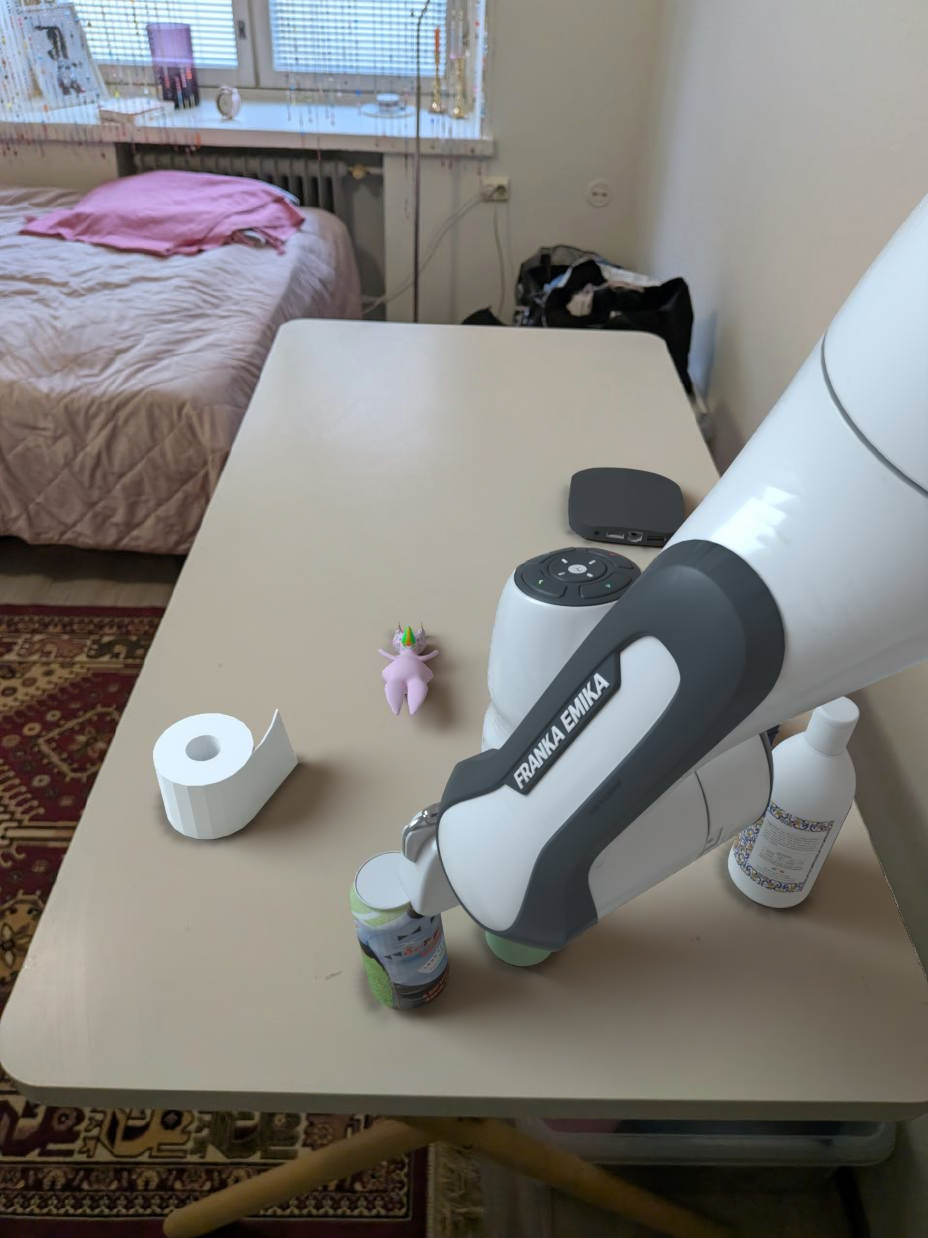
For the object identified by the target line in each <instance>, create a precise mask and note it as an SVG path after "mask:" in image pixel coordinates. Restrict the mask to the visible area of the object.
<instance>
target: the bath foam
mask: <svg viewBox="0 0 928 1238" xmlns="http://www.w3.org/2000/svg"><path fill="white" fill-rule="evenodd" d="M859 718H860V709H859V707H858V706H857V705H856V703H855V702H854V701H853V700H852V699H849V698H848V697H846V696H843V697H840V698H838V699H836V700H833V701H831V702H829V703H826V704H824V705H822V706H819V707H817V708H815V709H813V712H812V715H811V717H810V720H809V722H808V724H807V727H806V730H805V731H802V732H799V733H796V734H794V735H792V736H789V737H788V738H786V739H784V740H783V741H781V742H780V743H778V744H777V745H776V746H775V747H774V748H773V749H771V751H772V756H773V765H774V781H773V790H772V795H771V799H770V803H769V806H768V808H767V810H766V812H765V814H764V815H763V817H762V818H761V819H760V820H759V821H758V822H756V823H755V824H753V825H751V826H749V827H748V828H746V829H745V830H743V831H742V832H740V833H739V834H737V835H736V836H734V840H733V843H732V846H731V849H730V851H729V853H728V854H729V855H728V858H727V868H728V873H729V875H730V878H731V879H732V881H733V883H734V884H735V886H736V887H737V888H738V889H739V891H741V892H742V893H743V894H744V895H745V896H746V897H747V898H749V899H750V900H752V901H754V902H756V903H757V904H760V905H763V906H765V907H769V908H776V909H783V908H790V907H794V906H796V905H799V904H800V903H802V902H803V901H804V900H805V899H806V898H807V897H808V896H809V894H810V892H811V890H812V888H813V886H814V884H815V882H816V880H817V879H818V877H819V875H820V874H821V871H822V869H823V866H824V865H825V863H826V860H827V858H828V857H829V854H830V853H831V850H832V848H833V846H834V844H835V842H836V840H837V837H838V835H840V831H841V829H842V828H843V825H844V823H845V821H846V819H847V817H848V815H849V812H850V810H851V808H852V806H853V802H854V799H855V794H856V790H857V789H856V788H857V778H856V777H857V775H856V770H855V766H854V764H853V761H852V758H851V756H850V753H849V752H848V749H847V745H848V744H849V741H850V740H851V739H850V738H851V736H852V734H853V732H854V730H855V728H856V725H857V724H858V722H859Z"/></svg>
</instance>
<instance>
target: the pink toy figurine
mask: <svg viewBox="0 0 928 1238" xmlns="http://www.w3.org/2000/svg"><path fill="white" fill-rule="evenodd" d="M426 646H427V638H426V633H425V630H424V627H423V621H421V622H420V627H419V629H418V630H417V631H416V632H413V629H412V628H411V626H410V625H408V626H407V627H406V628H405V630H404V631H403V630H402V627H401V623H400V621H398V625H397V626H396V629H395V632H394V635H393V638H392V647H393V649H394V650H395V651H396V652H397V654H398V655H396V654H395V655H394V654H391V653H388V652H387V651H386V650H385V649H384V648H379V649H378V653H379V654H380V655H381V656H383V657H384V658H386V659H388V660H390V661H392V662H390V663H389V664H388V665H387V666H386V667H385V668H384V669H382V672H381V677H382V678H383V680H384V681H385V682H386V683H385V685H384V693H385V698H386V700H387V702H388V705H389V707H390V709H391V710H392V712H393V714H394V715H396V716H399V715H400V713H401V710H402V707H403V705H404V699H405V695H407V705H408V710H409V715H410V716H412V717H413V716H415V715H416V714H417V713H418V712H419V710H420V708H421V706H422V705H423V702H424V701H425V699H426V697H427V694H428V691H429V687H428V683H429V682H430V681H432V679H433V677H434V672H433V671H432V670H431V669H430V668H429V667H428V666H427V665H426V664H425V663H424V662H426V661H429V660H431V659H433V658H434V657H437V656H438V655H439V654H440V651H439V650H437V649H435V650H433V651H431V653H429V654H426V655H420V654H421V653H422V652H423V651H425V649H426Z"/></svg>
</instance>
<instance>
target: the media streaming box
mask: <svg viewBox="0 0 928 1238" xmlns="http://www.w3.org/2000/svg"><path fill="white" fill-rule="evenodd" d="M681 489H682V488H681V486H680V485H679V484H678V483H677V482H676V481H674V480H672V479H671V478H669V477H667V476H664V475H663V474H659V473H656V472H653V471H648V470H642V469H637V468H627V467H615V466H614V467H613V466H609V467H608V466H606V467H603V466H602V467H598V466H597V467H589V468H585V469H582V470H578V471H577V472H575V473H573V474H572V476H571V477H570V484H569V493H568V501H567V502H568V503H567V507H568V509H567V515H568V516H567V517H568V518H567V519H568V525H569V527H570V529H571V531H573V532H574V533H575V534H577V535H578V536H580V537H582V538H585V539H589V540H593V541H601V542H609V543H610V542H611V543H619V544H627V545H628V544H629V545H640V546H642V545H643V546H655V547H657V546H658V547H664V546H665V545H666V544H667V542H668V541H669V540H670V539H671V538H672V536H673V535H674V534H675V533H676V532H677V530H678V529H679V528H680V527H681V526H682V524H683V523H684V522H685V521H686V507H685V500H684V495H683V491H682V490H681Z"/></svg>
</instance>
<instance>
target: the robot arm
mask: <svg viewBox="0 0 928 1238" xmlns="http://www.w3.org/2000/svg"><path fill="white" fill-rule="evenodd" d="M497 603H498V604H497V608H496V611H495V616H494V619H493V620H494V621H493V626H492V631H491V638H490V645H489V654H488V662H487V663H488V665H487V679H486V680H487V681H486V682H487V689H488V693H489V696H490V697H489V698H490V700H491V701H490V703H489V705H488V707H487V709H486V712H485V715H484V719H483V723H482V724H483V725H482V734H481V735H482V736H481V747H480V753H477V754H475V755H473V756H470V757H467V758H465V759H463V760H461V761H458V762H457V763H456V764H455V765H454V767H453V769H452V771H451V773H450V775H449V777H448V779H447V782H446V784H445V787H444V791H443V793H442V795H441V799H440V801H439V802H435V803H432V804H430V805H428V806H427V807H425V808H423V809H421V810H420V811H419V812H418V813H416V814H415V815H414V816H413V818H412V819H411V821H410V822H409V823H408V824H406V825H405V826H404V828H403V829H402V832H401V849H400V851H401V854H400V860H399V868H398V878H399V882H400V884H401V886H402V888H403V890H404V892H405V893H406V895H407V897H408V898H409V900H410V902H411V906H412V907H413V909H414V910H415V911H416V912H417V913H418V914H421V915H423V916H426V917H432V916H435V915H437V914H440V913H441V914H442V913H444V912H447V911H449V910H451V909H453V908H456V907H458V906H461V907H462V909H463V910H464V911H465V913H466V914H467V916H469V918H470V919H471V920H472V921H473V922H474V923H475V924H476V925H478V926H479V927H480V928H481V929H482V930H484V931H485V930H486V931H487V932H489V933H491V934H493V935H496V936H498V937H500V938H503V939H505V940H508V941H511V942H513V943H517V944H520V945H523V946H527V947H531V948H536V949H541V950H546V951H552V952H551V953H553V952H555V953H557V952H560V951H562V950H563V949H564V948H566V947H567V946H568V945H569V944H571V943H573V941H576V940H577V939H578V938H579V937H581V936H582V935H583V934H585V933H586V932H587V931H589V930H590V929H592V928H593V927H595V926H597V924H598V922H599V920H601V919H603V918H604V917H606V916H608V915H609V914H611V913H613V912H614V911H616V910H618V909H619V908H621V907H622V906H624V905H625V904H628V903H629V902H630V901H633V900H634V899H635V898H637V897H639V896H640V895H642V894H644V893H645V892H647V891H648V890H650V889H652V888H653V887H655V886H656V885H658V884H660V883H661V882H663V881H665V880H667V879H668V878H670V877H672V876H673V875H675V874H676V873H678V872H680V871H681V870H683V869H685V868H686V867H689V866H690V865H691V864H692V863H694V862H696V861H697V860H699V859H700V858H703V857H704V856H705V855H707V854H709V853H711V852H712V851H714V850H715V849H717V848H718V847H720V846H721V845H723V844H725V843H726V842H728V841H730V840H731V839H733V838H735V837H736V835H737V834H739V833H740V832H742V831H743V830H745V829H746V828H748V827H749V826H751V825H753V824H755V823H756V822H758V821H759V820H760V819H761V818H762V817H763V815H764V814H765V812H766V810H767V808H768V806H769V803H770V799H771V795H772V790H773V781H774V765H773V756H772V747H771V746H770V742H769V738H768V735H767V732H766V730H768V729H770V728H772V727H774V726H777V725H779V724H780V725H781V724H783V723H785V722H788V721H789V720H792V719H795V718H797V717H798V716H801V715H803V714H805V713H808V712H810V711H812V710H814V709H815V708H817V707H819V706H822V705H824V704H826V703H829V702H831V701H833V700H836V699H838V698H840V697H843V696H844V697H846V696H848V695H850V694H852V693H855V692H857V691H859V690H862V689H864V688H866V687H869V686H870V685H873V684H876V683H878V682H881V681H882V680H885V679H887V678H889V677H892V676H894V675H896V674H899V673H901V672H904V671H906V670H907V669H910V668H912V667H915V666H917V665H919V664H921V663H923V662H926V661H927V660H928V192H927V193H926V194H925V195H924V197H923V198H922V199H921V200H920V202H919V203H918V204H917V205H916V207H915V208H914V209H913V210H912V211H911V213H910V214H909V215H908V216H907V217H906V219H905V220H904V221H903V223H902V224H901V225H900V226H899V227H898V228H897V230H896V231H895V232H894V234H893V235H892V237H891V238H890V239H889V240H888V242H887V243H886V244H885V245H884V246H883V248H882V250H881V251H880V252H879V254H878V255H877V256H876V257H875V259H874V260H873V262H872V263H871V264H870V265H869V267H868V268H867V269H866V271H865V272H864V273H863V275H862V276H861V278H860V279H859V281H858V282H857V283H856V285H855V286H854V288H853V289H852V290H851V292H850V294H849V295H848V297H847V298H846V299H845V301H844V303H843V304H842V305H841V307H840V308H839V310H838V311H837V312H836V314H835V316H834V317H833V318H832V320H831V322H830V324H829V325H828V326H827V328H826V329H825V331H824V332H823V334H822V335H821V337H820V339H818V341H817V342H816V344H815V346H814V347H813V349H812V350H811V352H810V353H809V354H808V356H807V357H806V359H805V360H804V362H803V363H802V364H801V367H799V370H798V371H797V372H796V374H795V375H794V377H792V379H791V381H790V382H789V384H788V385H787V387H786V388H785V390H784V391H783V392H782V394H781V395H780V397H779V398H778V399H777V401H776V402H775V404H774V405H773V407H772V408H771V409H770V411H769V412H768V414H767V415H766V416H765V418H764V419H763V421H762V422H761V423H760V424H759V426H758V427H757V428H756V430H755V431H754V433H752V436H751V437H750V438H749V439H748V440H747V442H746V444H745V445H744V447H743V448H742V449H741V450H740V451H739V453H738V454H737V455H736V457H735V458H734V460H733V461H732V463H730V465H729V466H728V468H727V469H726V470H725V472H724V473H723V474H722V476H721V477H720V479H719V480H718V481H717V482H716V484H715V485H714V486H713V487H712V488H711V490H710V491H709V492H708V493H707V495H706V496H705V497H704V498H703V499H702V501H701V502H700V503H699V505H697V507H696V508H695V509H694V510H693V512H692V513H691V514H690V515H689V516H688V517H687V518H686V519H685V522H684V523H683V524H682V526H681V527H680V528H679V529H678V530H677V532H676V533H675V534H674V535H673V536H672V538H671V539H670V540H669V541H668V542H667V544H666V545H665V546H663V547H662V549H661V550H660V552H659V553H658V554H657V555H656V556H655V557H654V558H653V559H652V561H651V562H650V563H648V565H647V567H646V568H645V569H644V570H643V569H642V568H641V567H640V566H639V565H638V564H637V563H636V562H634V561H633V560H631V559H630V558H628V557H627V556H625V555H623V554H620V553H617V552H614V551H611V550H608V549H604V548H600V547H592V546H591V547H587V546H585V547H584V546H569V547H564V548H558V549H555V550H552V551H549V552H545V553H542V554H540V555H537V556H534V557H531V558H529V559H528V560H525V562H523V563H520V564H519V565H517V566H516V568H514V570H513V571H512V573H511V574H510V575H509V577H508V579H507V580H506V582H505V585H504V587H503V589H502V591H501V593H500V597H499V600H498V602H497Z"/></svg>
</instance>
